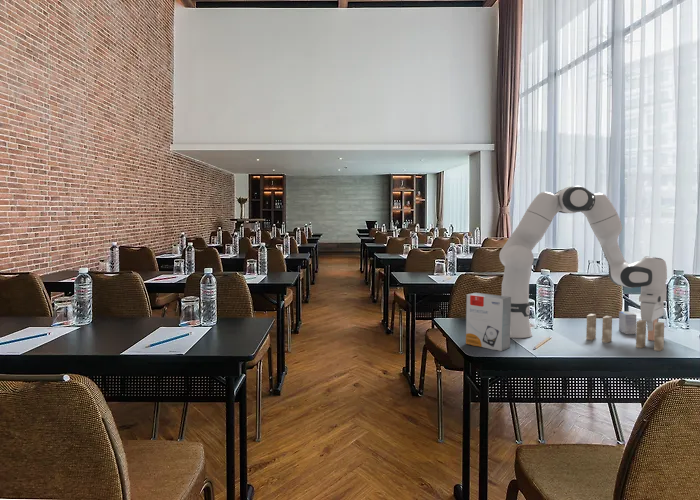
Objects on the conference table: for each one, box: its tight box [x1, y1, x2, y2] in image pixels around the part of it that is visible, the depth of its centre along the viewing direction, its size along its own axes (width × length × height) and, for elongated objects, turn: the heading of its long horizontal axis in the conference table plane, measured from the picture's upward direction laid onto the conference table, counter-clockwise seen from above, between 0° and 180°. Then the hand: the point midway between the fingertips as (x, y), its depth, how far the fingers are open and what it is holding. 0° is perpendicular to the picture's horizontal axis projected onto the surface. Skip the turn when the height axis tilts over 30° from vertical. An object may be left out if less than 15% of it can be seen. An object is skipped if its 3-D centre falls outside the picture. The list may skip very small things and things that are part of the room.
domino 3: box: [635, 319, 647, 349], centre depth 182 cm, size 2×5×10 cm, turn 135°
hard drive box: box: [465, 292, 511, 352], centre depth 183 cm, size 16×8×20 cm, turn 46°
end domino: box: [653, 321, 665, 352], centre depth 177 cm, size 2×5×10 cm, turn 135°
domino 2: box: [601, 315, 613, 343], centre depth 190 cm, size 2×5×10 cm, turn 135°
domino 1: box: [585, 313, 597, 341], centre depth 194 cm, size 2×5×10 cm, turn 135°
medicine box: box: [618, 310, 637, 335], centre depth 206 cm, size 8×4×9 cm, turn 168°
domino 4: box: [647, 319, 657, 342], centre depth 193 cm, size 2×5×10 cm, turn 135°
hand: (652, 329), depth 193 cm, fingers closed on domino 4, 5 cm apart
